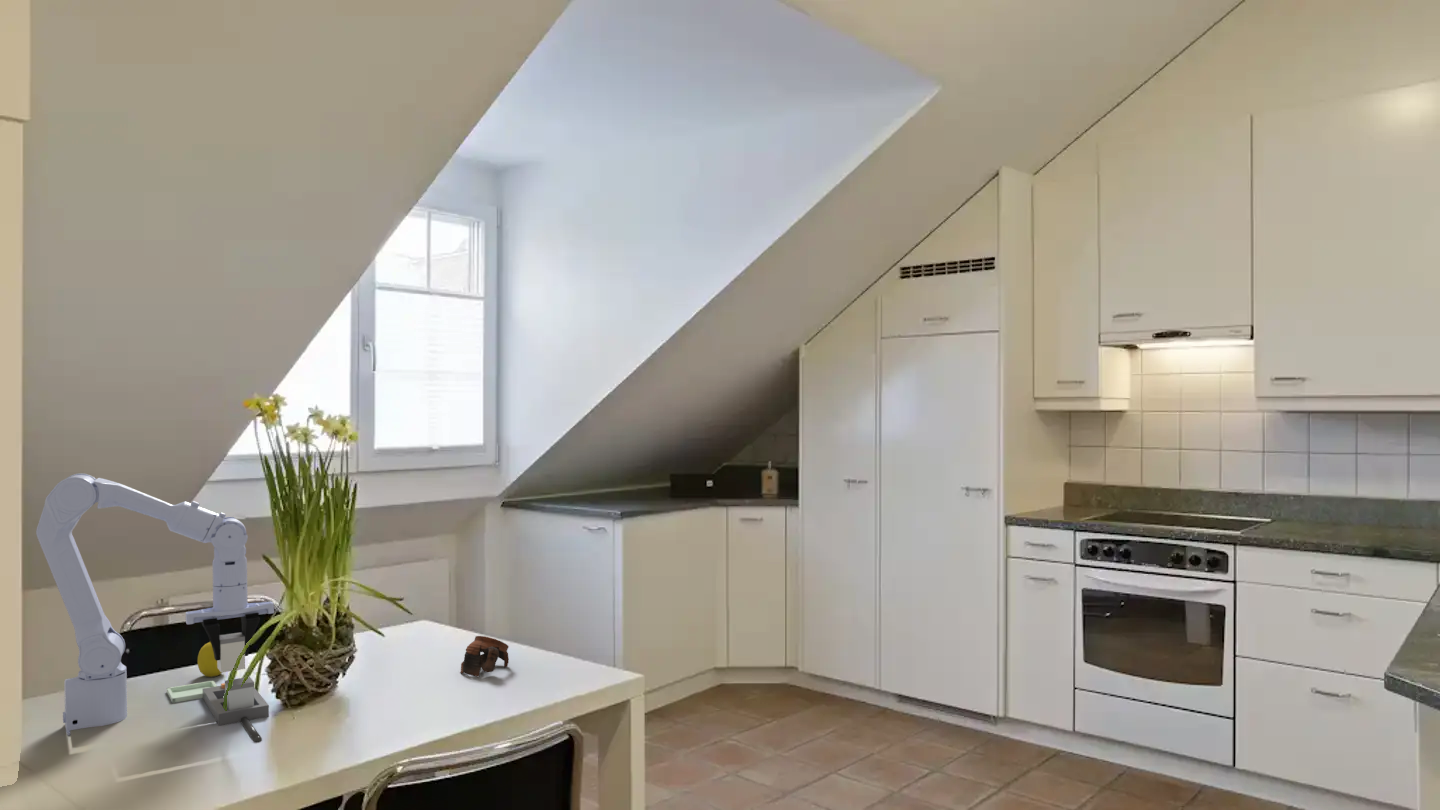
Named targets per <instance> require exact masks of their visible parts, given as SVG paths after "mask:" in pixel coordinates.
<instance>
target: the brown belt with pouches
mask: <svg viewBox="0 0 1440 810" xmlns="http://www.w3.org/2000/svg"><path fill="white" fill-rule="evenodd" d="M509 647H510V646H509V645H508V644H506V643H505V642H503V641H501V640H500V639H496V638H493V637H489V636H485V635H484V636H483V635H476V636H475V637H474V640H473V641H472V642H471V643H470V644H468V645H467V647H466V649H465V654H464V657H463V661H462V662H461V664H460V674H466V675H469V676H470V675H471V676H474V677H477V676H480V672H481V669H482V671H484V672H485V673H492V672H494V669H495V668H496V663H497V661H498V659H500V660H502V661H503V667H504V668H507V667H508V666H509V652H508V649H509ZM481 653H482V654H481Z"/></svg>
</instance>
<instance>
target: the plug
mask: <svg viewBox="0 0 1440 810" xmlns="http://www.w3.org/2000/svg"><path fill="white" fill-rule="evenodd" d="M219 643H220V660H217V668H218V669H219V671H220V672H221V674H223V673H228V672H233V671H232V670H233V668H234V665H235V663H236V660H237V658H238V656H239V655H240V653H241V652H242V650H243V648H244V646H245V636H244V635H243V634H242V631H241V632H234V633H226V634H220V640H219ZM245 669H246V656H245V654H244V655H243V657H242V659H241V661H240V664H239V666H238V668H237V670H236V671H239V670H240V671H241V670H245ZM222 672H223V673H222Z"/></svg>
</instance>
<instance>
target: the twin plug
mask: <svg viewBox="0 0 1440 810" xmlns="http://www.w3.org/2000/svg"><path fill="white" fill-rule="evenodd" d="M248 677H249V678H248V679H247V680H246V681H245V683H244V684H243V686H242V687H241V685H242V682H243V680H244V678H245V677H239V678H235V679H234V681H233V686H232V688H231V689H230V690H229V691H228V695H227V710H233V709H238V708H244V707H249V706H254V688H255V681H254V680H253V679H252V677H251V676H248ZM229 680H230V679H227V680H224V683H225V693H226V690H227V688H228V683H229Z"/></svg>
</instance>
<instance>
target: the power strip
mask: <svg viewBox="0 0 1440 810" xmlns="http://www.w3.org/2000/svg"><path fill="white" fill-rule="evenodd" d="M224 693H225V682H222V683H220V685H217V686H216V687H210V688H204V689H203V698H202V699H203V701H204V702H205V705H206V706H207V707H208V709H209V711H210V713H211V714H212V716H213V717H214V719H215V722H216V724H217V725H218V727H219V726H226V725H231V724H237V723H241V725H242V726H243V728H244V729H245V730H246V732H247V734H248V735H249V737H250V738H251V740H253V742H254V743H259V742H261V741H263V738H262V737H261V735H260V733H259V732H258V730H257V729H256V728H255V726H254V725H253V724H252V723H251V720H252V721H253V720H258V719H263V718H264V719H265V718H267V717H270V715H269V713H270V711H269V709H270V706H269V703H268V702H267V701H266V700H265V699H264V697H263V696H262V695H261V694H260V692H259V691H258V690H257V689H256V688H255V687H254V706H249V707H244V708H238V709H233V710H227V711H225V709H224V708H223V702H224V698H223V696H224Z"/></svg>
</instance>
